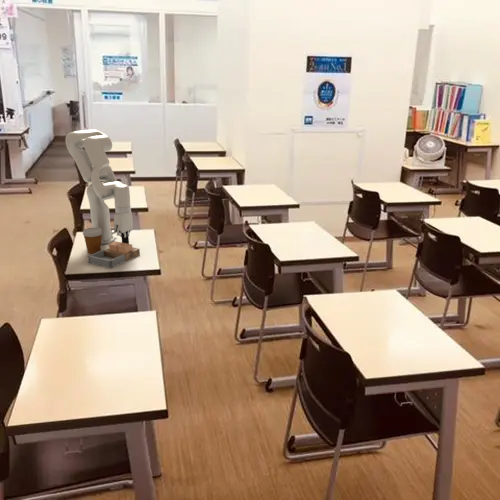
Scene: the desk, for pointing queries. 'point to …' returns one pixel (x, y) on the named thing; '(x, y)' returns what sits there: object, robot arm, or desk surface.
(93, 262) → the tray
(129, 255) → the brown wooden slab
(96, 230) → the disposable coffee cup
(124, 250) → the tile
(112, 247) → the tile
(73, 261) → the desk surface
